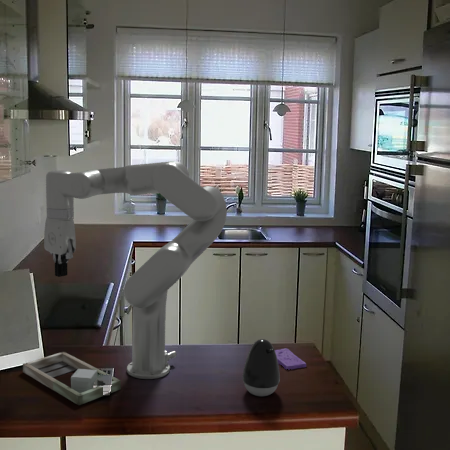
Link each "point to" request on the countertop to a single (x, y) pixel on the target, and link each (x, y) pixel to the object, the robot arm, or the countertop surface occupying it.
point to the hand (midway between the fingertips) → (61, 275)
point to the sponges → (289, 359)
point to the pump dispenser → (261, 369)
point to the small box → (83, 380)
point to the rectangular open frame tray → (62, 359)
